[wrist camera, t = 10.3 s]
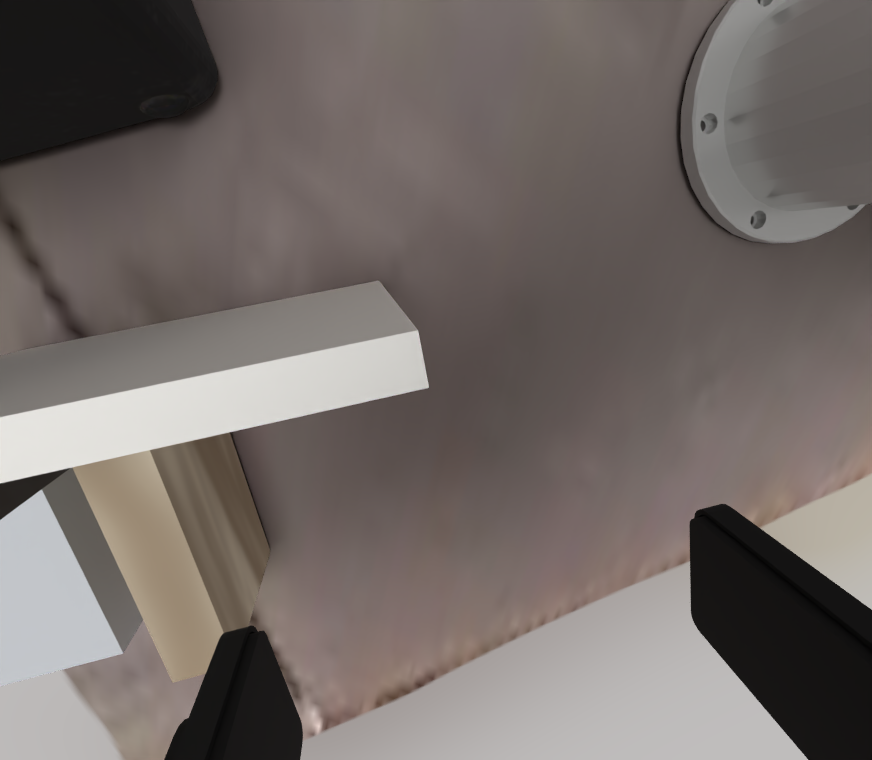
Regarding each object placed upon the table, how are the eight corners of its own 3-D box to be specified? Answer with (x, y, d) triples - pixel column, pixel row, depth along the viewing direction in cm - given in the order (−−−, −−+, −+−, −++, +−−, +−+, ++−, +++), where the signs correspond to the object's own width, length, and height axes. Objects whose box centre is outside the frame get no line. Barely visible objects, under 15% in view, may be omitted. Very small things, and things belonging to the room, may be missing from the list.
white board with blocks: (378, 280, 22) (418, 330, 7) (427, 508, 25) (515, 836, 11) (-52, 364, 20) (-1161, 659, 5) (70, 598, 23) (-387, 1144, 9)
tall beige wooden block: (204, 359, 21) (-50, 532, 8) (270, 551, 24) (166, 901, 11) (151, 370, 21) (-203, 567, 8) (224, 563, 24) (62, 935, 11)
